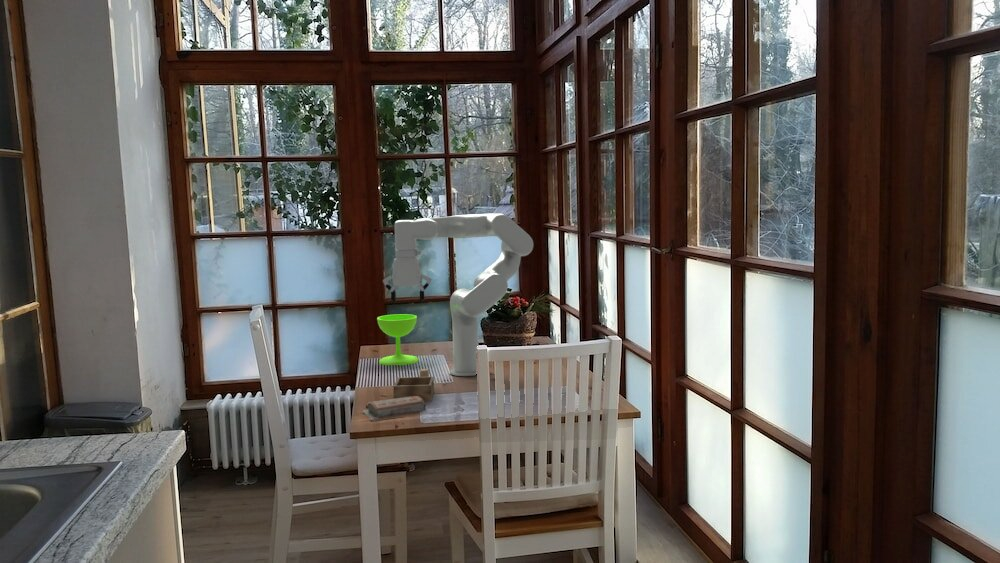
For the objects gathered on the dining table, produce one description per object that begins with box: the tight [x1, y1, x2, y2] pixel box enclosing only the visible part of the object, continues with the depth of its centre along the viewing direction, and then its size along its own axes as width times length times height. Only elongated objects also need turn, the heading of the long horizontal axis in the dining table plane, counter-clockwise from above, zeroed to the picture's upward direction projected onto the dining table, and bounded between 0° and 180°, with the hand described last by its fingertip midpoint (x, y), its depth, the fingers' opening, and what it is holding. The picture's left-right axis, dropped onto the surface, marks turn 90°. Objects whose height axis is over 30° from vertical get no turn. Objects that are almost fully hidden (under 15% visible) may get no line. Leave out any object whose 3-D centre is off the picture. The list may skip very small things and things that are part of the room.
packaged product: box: [362, 396, 427, 423], centre depth 235 cm, size 18×5×10 cm
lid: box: [419, 368, 430, 377], centre depth 266 cm, size 13×13×7 cm
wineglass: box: [376, 313, 419, 366], centre depth 310 cm, size 16×16×18 cm
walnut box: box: [393, 376, 435, 403], centre depth 251 cm, size 12×12×6 cm
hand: (407, 302), depth 276 cm, fingers open, 9 cm apart
